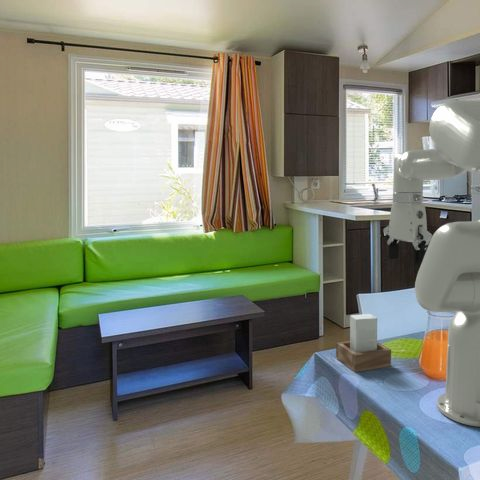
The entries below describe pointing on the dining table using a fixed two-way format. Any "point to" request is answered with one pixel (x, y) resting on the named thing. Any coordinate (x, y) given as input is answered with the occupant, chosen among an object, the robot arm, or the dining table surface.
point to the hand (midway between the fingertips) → (405, 261)
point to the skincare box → (363, 333)
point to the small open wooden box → (363, 357)
